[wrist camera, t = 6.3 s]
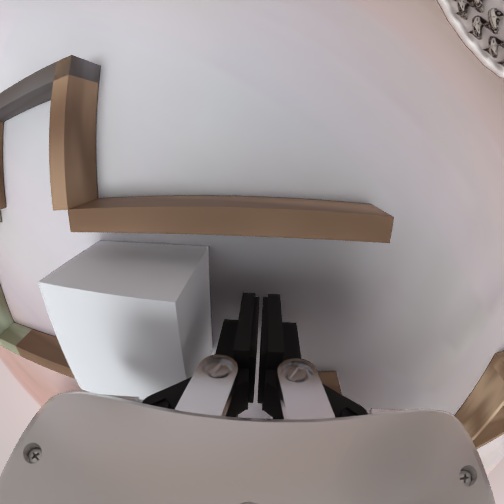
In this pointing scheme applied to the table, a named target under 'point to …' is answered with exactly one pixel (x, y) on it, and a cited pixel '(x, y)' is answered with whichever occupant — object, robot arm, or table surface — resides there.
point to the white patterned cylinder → (479, 29)
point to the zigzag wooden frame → (150, 197)
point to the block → (132, 315)
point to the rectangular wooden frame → (485, 405)
